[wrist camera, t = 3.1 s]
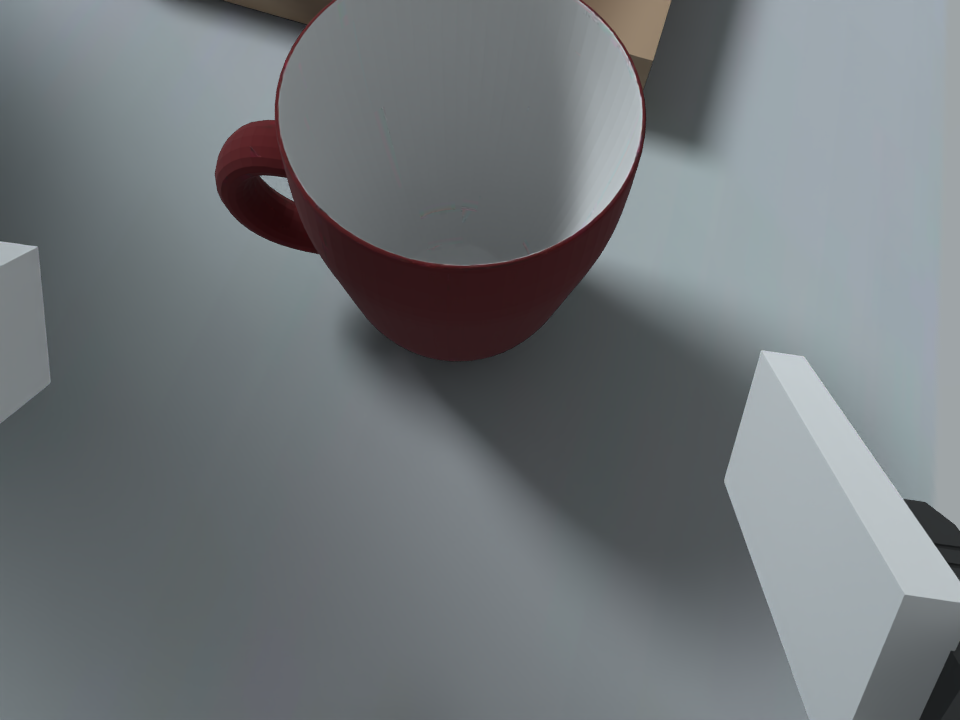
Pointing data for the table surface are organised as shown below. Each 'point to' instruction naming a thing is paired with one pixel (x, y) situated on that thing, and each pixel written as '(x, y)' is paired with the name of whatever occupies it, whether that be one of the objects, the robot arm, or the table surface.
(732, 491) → the robot arm
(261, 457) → the table surface
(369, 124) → the mug
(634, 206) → the table surface
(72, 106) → the table surface
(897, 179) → the table surface
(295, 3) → the plinth
